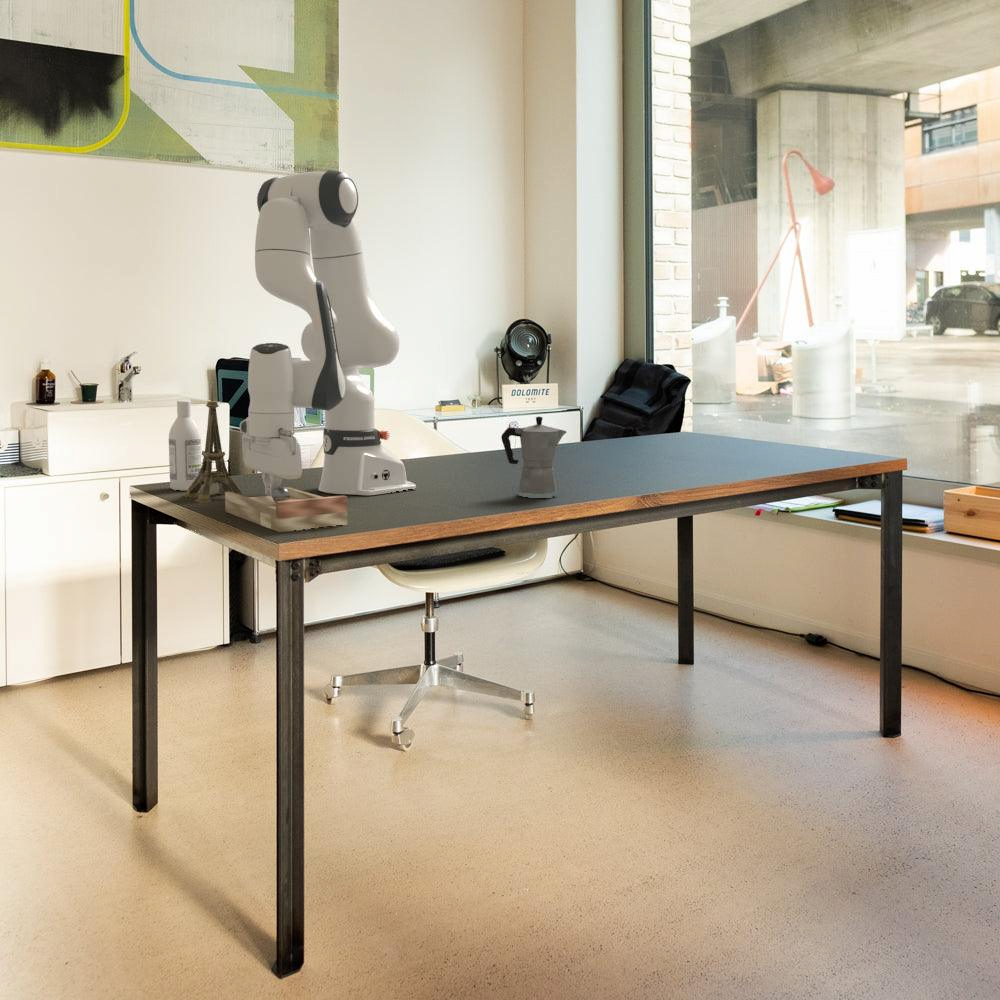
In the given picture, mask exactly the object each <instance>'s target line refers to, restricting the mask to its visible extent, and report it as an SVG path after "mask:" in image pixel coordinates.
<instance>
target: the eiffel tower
mask: <svg viewBox="0 0 1000 1000" xmlns="http://www.w3.org/2000/svg"><path fill="white" fill-rule="evenodd" d="M213 391H214V390H213V389H211V396H210V397H211V398H210V399H211V400H210V401H209V400H208V401H206V405H205V406H206V407H207V408H208V414H207V415H208V417H207V429H206V437H205V446H204V447H205V448H204V450H201V456H202V457H203V459H202V462H201V465H202V467H201V469H200V471H198V473H199V475H198V476H197V478H196V479H195V480H194V482H193V483H192V484H191V486H190V487H189V489H188V490H187V491H186V493H184V494H182V495H183V496H182V497H184V496H185V498H186V497H189V498H196V499H194V502H196V503H198V504H205V503H212V502H213V501H212V499H211V498H210V491H211V486H212V485H213V484H216V483H217V484H218V490H217V492H216V493H217V494H218V495H220V496H225V492H233V493H236V494H239V495H242V496H243V493H242V492H241V490H240V489H239V488H238V486H237V485H236V483H235V482H234V480H233V479H232V478H231V476H230V474H231V473H230V472H228V471H229V470H228V469H227V467H226V462H225V456H226V451H223V447H222V443H221V437H220V436H221V435H220V428H219V422H218V415H217V408H219V407H220V405H219V404H218V403H219V402H218V401H214V393H213ZM213 462H215V469H216V470H212V469H213ZM201 487H202V488H201ZM200 488H201V489H200Z"/></svg>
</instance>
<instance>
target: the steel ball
mask: <svg viewBox="0 0 1000 1000" xmlns="http://www.w3.org/2000/svg"><path fill="white" fill-rule="evenodd" d="M285 487H286V486H280V487H278V488H276V489H275V490H274V491H273V493H272V498H273V501H274V502H275V503H276V501H287V500H289V499H290V492H289V491H288V489H286V488H285Z"/></svg>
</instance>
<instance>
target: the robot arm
mask: <svg viewBox="0 0 1000 1000" xmlns="http://www.w3.org/2000/svg"><path fill="white" fill-rule="evenodd" d="M256 197H257V198H256V204H257V210H258V213H259V214H258V219H257V225H256V231H255V232H256V233H255V244H254V246H255V247H254V270H255V276H256V279H257V282H258V283H259V284H260V286H261V287H262V288H263V290H265V291H266V292H268V293H269V294H270V295H272V296H273V297H276V298H277V299H279V300H281V301H284V302H287V303H289V304H292V305H294V306H296V307H299V308H301V309H302V310H303V311H304V312H306V313H307V314H308V315H309V318H310V319H311V322H309V323H308V324H306V326H305V327H304V329H303V330H302V333H301V338H300V339H301V340H300V343H301V344H300V345H301V349H302V352H303V354H304V356H305V358H307V359H308V360H303V359H301V360H299V359H298V360H297V359H296V360H295V359H294V360H293V359H292V352H291V348H290V347H289V345H287V344H284V343H279V342H265V343H259V344H256V345H255V346H253V347H252V348H251V349H250V354H249V362H248V374H247V391H248V394H249V400H250V402H249V406H248V413H247V414H248V417H246V418H245V419H243V420H242V421H240V423H239V432H240V434H242V437H241V450H242V451H241V454H242V460H243V464H244V467H245V468H246V469H250V470H253V471H256V472H260V473H261V478H262V479H261V480H262V482H263V485H264V494H265V496H271V497H272V493H273V491H274V490H275V489H276V488H278V487H282V486H281V485H282V482H283V479H284V480H294V479H295V480H296V479H300V478H301V476H302V474H303V464H302V463H303V462H302V450H301V446H300V442H299V441H298V439H297V437H295V408H299V409H301V408H303V409H315V410H320V411H324V420H325V421H324V424H325V425H324V428H323V432H322V433H323V440H322V445H323V446H322V447H323V453H324V457H323V466H322V473H321V477H320V478H321V479H320V482H319V485H318V489H317V490H318V491H319V492H323V493H327V494H336V495H357V496H375V495H383V494H384V495H385V494H391V492H392V493H397V492H396V491H399V492H404V491H403V490H406V491H409V490H408V489H413V490H416V489H417V485H416V483H414V482H412V481H408V480H407V473H406V467H405V465H404V462H403V461H402V460H401V459H400V458H398V457H397V456H396V455H395V454H393V453H392V452H391V451H390V450H388V449H387V448H386V447H385V446H383V444H382V441H381V440H384V441H387V440H389V438H390V436H391V435H390V432H389V431H388V430H380V431H379V430H378V429H376V428H375V396H374V394H373V392H372V390H371V389H370V388H369V387H368V386H367V385H366V384H365V383H364V380H363V379H362V378H361V377H362V376H361V375H360V371H359V368H360V369H361V368H362V369H374V368H379V367H383V366H387V365H390V364H392V362H394V360H395V359H396V357H397V355H398V353H399V350H400V337H399V334H398V331H397V330H396V328H395V327H394V326H393V325H392V323H390V322H389V321H388V320H387V319H386V318H385V317H384V316H383V315H382V313H381V312H380V309H378V307H377V305H376V303H375V302H374V298H373V297H372V294H371V292H370V288H369V286H368V285H369V284H368V280H367V273H366V268H365V261H364V254H363V253H364V252H363V248H362V242H361V236H360V233H359V227H358V225H357V221H356V219H355V218H356V217H355V215H356V213H357V209H358V205H359V193H358V189H357V186H356V184H355V182H354V181H353V179H352V178H351V177H350V176H349V175H348V174H347V173H346V172H343V171H338V170H327V171H303V172H300V173H296V174H290V175H284V176H275V177H271V178H269V179H267V180H266V181H264V182H262V184H261V186H260V188H259V190H258V192H257V196H256ZM311 259H312V262H311ZM312 265H313V268H312ZM332 311H333V312H332ZM333 313H334V315H335V317H334V316H333ZM415 488H416V489H415Z"/></svg>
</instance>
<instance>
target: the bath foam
mask: <svg viewBox="0 0 1000 1000" xmlns="http://www.w3.org/2000/svg"><path fill="white" fill-rule="evenodd" d="M176 411H177V412H176V413H177V416H176V418H175V420H174V422H173V423H172V425H171V427H170V430H169V433H168V460H169V461H168V462H169V464H168V466H169V487H170V489H171V490H172V489H173V490H172V491H176V490H180V491H179V492H187V490H188V489H189V487H190V486H191V484H192V483H193V482H194V480H195V479H196V478H197V476H198V475H199V473H198V471H200V469H201V467H202V437H201V432H200V429H199V427H198V425H197V423H196V422H195V420H194V419H193V418H192V405H191V400H187V399H186V400H183V399H182V400H181V399H180V400H177V401H176ZM202 488H203V486H202V487H201V488H200V490H202Z"/></svg>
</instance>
